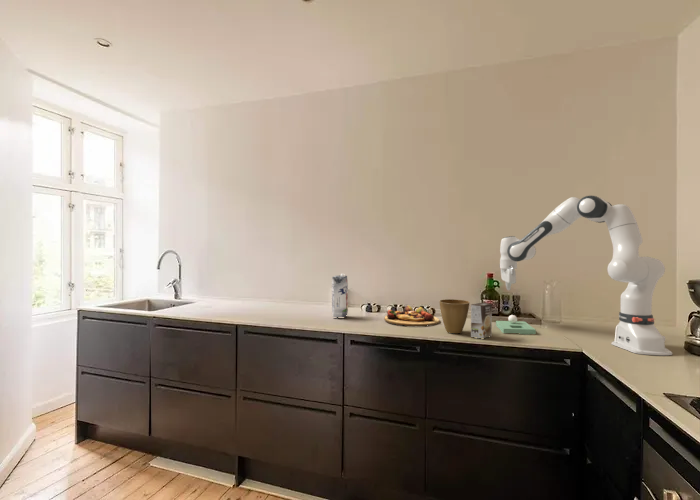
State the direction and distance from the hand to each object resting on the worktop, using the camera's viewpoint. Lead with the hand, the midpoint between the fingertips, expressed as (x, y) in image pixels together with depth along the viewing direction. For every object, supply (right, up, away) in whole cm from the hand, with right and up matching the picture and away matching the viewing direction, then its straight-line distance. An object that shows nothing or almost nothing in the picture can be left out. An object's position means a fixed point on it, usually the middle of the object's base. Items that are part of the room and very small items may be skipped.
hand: (508, 290), depth 217 cm
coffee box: (-25, -20, -29) cm, 43 cm away
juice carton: (-95, -20, +23) cm, 100 cm away
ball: (-2, -15, -10) cm, 18 cm away
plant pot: (-35, -20, -19) cm, 45 cm away
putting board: (-2, -19, -14) cm, 24 cm away
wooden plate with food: (-53, -20, +10) cm, 57 cm away
